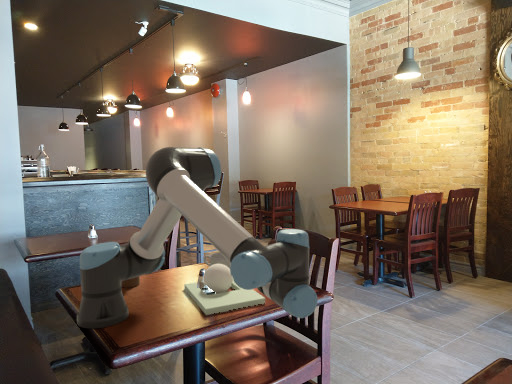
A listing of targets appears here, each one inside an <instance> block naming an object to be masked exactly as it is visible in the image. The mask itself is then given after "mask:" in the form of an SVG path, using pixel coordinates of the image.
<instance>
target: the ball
mask: <svg viewBox="0 0 512 384" xmlns="http://www.w3.org/2000/svg"><path fill="white" fill-rule="evenodd" d="M202 280H203V281H204V285H207V286H208V287H209V288H210V289H212V290H213V291H214V292H216V293H222V292H228V290H229V289H230V288H232V287H231V285H232V282H233V276H231V273H230V269H229V268H228V267H227V266H226V265H223V264H214V265H211V266H210V267H209V266H208V267H207V269H206V270H205V272H204V274H203V279H202ZM203 281H202V282H203Z"/></svg>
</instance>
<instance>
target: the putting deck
mask: <svg viewBox="0 0 512 384" xmlns="http://www.w3.org/2000/svg"><path fill="white" fill-rule="evenodd" d="M230 265H231V263H230ZM197 282H198V281H197ZM197 282H190V283H184V287H183V288H184V290H185V292H186V293H187V294H188V295H189V297H191V299H192V300H193V302H195V304H196V305H197V306H198V307H199V309H200V310H201V311H202V312H203V313H204V315H205V316H209V315H215V314H218V313H219V312H220V313H226V312H230V311H229V310H231V311H234V310H233V309H236V310H239V309H238V308H241V309H244V308H243V307H246V308H249V307H248V306H251V307H255V306H254V305H256V306H259V305H258V304H262V305H265V304H266V297H265V296H264V295H261V294H260V293H259V292H258V291H256V290H255V289H251V290H245V289H242V288H240V287H239V286H237V285H236V283H235V282H234V279H233V282H232V285H231V287H230V288H232V289H233V290H229V291H228V290H227V291H226V292H222V293H216V294H215V293H211V294H206V293H205V292H204V291H203V289H200V288H197ZM234 289H235V290H234ZM264 303H265V304H264ZM214 313H215V314H214Z"/></svg>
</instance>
